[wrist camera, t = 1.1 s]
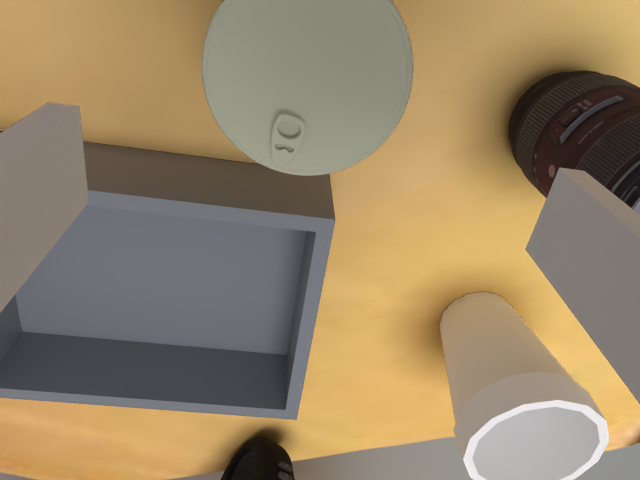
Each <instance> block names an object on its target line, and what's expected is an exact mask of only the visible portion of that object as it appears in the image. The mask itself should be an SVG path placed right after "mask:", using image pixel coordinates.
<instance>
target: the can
mask: <svg viewBox="0 0 640 480" xmlns="http://www.w3.org/2000/svg"><path fill="white" fill-rule="evenodd" d="M202 79H203V85H204V91H205V95H206V98H207V101H208V104H209V107H210V110H211V112H212V114H213V116H214V118H215V120H216V122H217V123H218V125H219V127H220V128H221V130H222V131H223V132H224V134H225V135H226V136H227V138H228V139H229V140H230V141H231V142H232V143H233V144H234V145H235V146H236V147H237V148H238V149H239V150H240V151H242V152H243V153H244V154H245V155H247V156H248V157H250V158H251V159H253V160H254V161H256V162H258V163H260V164H261V165H263V166H266V167H268V168H270V169H273V170H276V171H279V172H283V173H287V174H292V175H301V176H313V175H324V174H329V173H333V172H337V171H340V170H343V169H346V168H348V167H350V166H353V165H355V164H357V163H358V162H360V161H362V160H363V159H365V158H366V157H368V156H369V155H370V154H372V153H373V152H374V151H375V150H377V149H378V148H379V147H380V146H381V145H382V144H383V143H384V142H385V141H386V140H387V138H388V137H389V136H390V135H391V133H392V132H393V130H394V129H395V128H396V126H397V124H398V123H399V121H400V119H401V117H402V115H403V113H404V110H405V108H406V105H407V103H408V99H409V96H410V92H411V87H412V79H413V55H412V47H411V43H410V38H409V35H408V32H407V29H406V26H405V24H404V21H403V19H402V17H401V15H400V13H399V11H398V10H397V8H396V7H395V5H394V4H393V2H392V1H391V0H223V1H222V3H221V4H220V6H219V7H218V9H217V11H216V12H215V14H214V16H213V18H212V20H211V23H210V25H209V28H208V31H207V34H206V38H205V42H204V47H203V55H202Z"/></svg>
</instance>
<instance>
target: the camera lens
mask: <svg viewBox="0 0 640 480" xmlns="http://www.w3.org/2000/svg"><path fill="white" fill-rule="evenodd" d="M509 139H510V143H511V147H512V152H513V156H514V158H515V161H516V162H517V164H518V165H519V167H520V168H521V170H522V171H523V173H524V175H525V176H526V178H527V179H528V180H529V181H530V182H531V183H532V184H533V185H534V186H535V187H536V188H537V189H538V191H539V192H540V193H541V194H543V195H544V196H545V197H546V198H547V196H548V194H549V191H550V189H551V187H552V184H553V182H554V179H555V177H556V175H557V172H558V170H559V168H566V169H574V170H582V171H585V172H587V173H588V174H589V175H590V176H592V177H593V178H594V179H595V180H597V181H598V182H599V183H600V184H602V185H603V186H604V187H605V188H607V189H608V190H609V191H610V192H612V193H613V194H614V195H615V196H617V197H618V198H619V199H620V200H622V201H623V202H624V203H625V204H627V205H628V206H629V207H630V208H632V209H633V210H634V211H635V212H637V213H638V214H639V215H640V88H639V87H637V86H635V85H633V84H631V83H629V82H627V81H625V80H623V79H620V78H618V77H615V76H610V75H604V74H601V73H598V72H593V71H575V72H563V73H558V74H554V75H551V76H549V77H546V78H544V79H542V80H540V81H539V82H537V83H536V84H534V85H533V86H532V87H530V88H529V89H528V90H527V91H526V92H525V93H524V95H523V96H522V97H521V98H520V99H519V101H518V103H517V104H516V106H515V108H514V110H513V112H512V115H511V117H510V122H509Z"/></svg>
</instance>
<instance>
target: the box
mask: <svg viewBox="0 0 640 480" xmlns="http://www.w3.org/2000/svg"><path fill="white" fill-rule="evenodd" d="M2 132H3V131H0V133H2ZM83 148H84V158H85V168H86V179H87V189H88V199H89V202H88V204H87V205H86V206H85V207H84V209H83V210H82V211H81V212H80V214H79V215H78V216H77V217H76V219H75V220H74V221H73V222H72V224H71V225H70V226H69V228H68V229H67V230H66V231H65V233H64V234H63V235H62V236H61V238H60V239H59V240H58V241H57V243H56V244H55V245H54V246H53V248H52V249H51V250H50V251H49V253H48V254H47V255H46V256H45V258H44V259H43V260H42V261H41V263H40V264H39V265H38V266H37V268H36V269H35V270H34V271H33V273H32V274H31V275H30V276H29V278H28V279H27V280H26V281H25V283H24V284H23V285H22V286H21V288H20V289H19V290H18V291H17V293H16V294H15V295H14V296H13V298H12V299H11V300H10V301H9V303H8V304H7V305H6V306H5V308H4V309H3V310H2V311H1V313H0V398H11V399H24V400H38V401H51V402H65V403H78V404H92V405H105V406H118V407H132V408H145V409H159V410H172V411H185V412H199V413H212V414H226V415H239V416H252V417H266V418H279V419H293V420H297V415H298V410H299V405H300V400H301V394H302V389H303V384H304V379H305V374H306V369H307V363H308V358H309V353H310V348H311V343H312V338H313V332H314V327H315V322H316V317H317V312H318V306H319V301H320V296H321V291H322V286H323V281H324V275H325V270H326V265H327V260H328V255H329V250H330V244H331V239H332V234H333V229H334V224H335V214H334V206H333V199H332V191H331V183H330V176H329V174H324V175H313V176H301V175H292V174H287V173H283V172H279V171H276V170H273V169H270V168H268V167H266V166H263V165H260V164H252V163H244V162H237V161H229V160H221V159H213V158H206V157H198V156H190V155H183V154H175V153H167V152H159V151H152V150H144V149H136V148H129V147H121V146H113V145H105V144H98V143H90V142H83Z"/></svg>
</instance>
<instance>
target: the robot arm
mask: <svg viewBox="0 0 640 480" xmlns="http://www.w3.org/2000/svg"><path fill="white" fill-rule="evenodd" d="M88 202H89V199H88V189H87V179H86V168H85V158H84V148H83V138H82V128H81V117H80V107H79V106H73V105H65V104H58V103H50V102H48V103H46V104H45V105H43V106H42V107H40V108H39V109H37V110H35V111H34V112H32V113H31V114H29V115H28V116H26V117H25V118H23V119H22V120H20V121H18V122H17V123H15V124H14V125H12V126H11V127H9V128H8V129H6V130H5V131H3V132H2V133H0V313H1V311H2V310H3V309H4V308H5V306H6V305H7V304H8V303H9V301H10V300H11V299H12V298H13V296H14V295H15V294H16V293H17V291H18V290H19V289H20V288H21V286H22V285H23V284H24V283H25V281H26V280H27V279H28V278H29V276H30V275H31V274H32V273H33V271H34V270H35V269H36V268H37V266H38V265H39V264H40V263H41V261H42V260H43V259H44V258H45V256H46V255H47V254H48V253H49V251H50V250H51V249H52V248H53V246H54V245H55V244H56V243H57V241H58V240H59V239H60V238H61V236H62V235H63V234H64V233H65V231H66V230H67V229H68V228H69V226H70V225H71V224H72V222H73V221H74V220H75V219H76V217H77V216H78V215H79V214H80V212H81V211H82V210H83V209H84V207H85V206H86V205H87V204H88ZM526 251H527V252H528V253H529V255H530V256H531V258H532V259H533V260H534V262H535V263H536V264H537V266H538V267H539V268H540V270H541V271H542V272H543V274H544V275H545V276H546V278H547V279H548V281H549V282H550V283H551V285H552V286H553V287H554V289H555V290H556V291H557V293H558V294H559V295H560V297H561V298H562V299H563V301H564V302H565V304H566V305H567V306H568V308H569V309H570V310H571V312H572V313H573V314H574V316H575V317H576V318H577V320H578V321H579V322H580V324H581V325H582V326H583V328H584V329H585V331H586V332H587V333H588V335H589V336H590V337H591V339H592V340H593V341H594V343H595V344H596V345H597V347H598V348H599V349H600V351H601V352H602V354H603V355H604V356H605V358H606V359H607V360H608V362H609V363H610V364H611V366H612V367H613V368H614V370H615V371H616V372H617V374H618V375H619V377H620V378H621V379H622V381H623V382H624V383H625V385H626V386H627V387H628V389H629V390H630V391H631V393H632V394H633V395H634V397H635V398H636V400H637V401H638V402H639V404H640V215H639V214H638V213H637V212H635V211H634V210H633V209H632V208H630V207H629V206H628V205H627V204H625V203H624V202H623V201H622V200H620V199H619V198H618V197H617V196H615V195H614V194H613V193H612V192H610V191H609V190H608V189H607V188H605V187H604V186H603V185H602V184H600V183H599V182H598V181H597V180H595V179H594V178H593V177H592V176H590V175H589V174H588V173H587V172H585V171H582V170H574V169H566V168H559V170H558V172H557V175H556V177H555V179H554V182H553V184H552V187H551V189H550V191H549V194H548V196H547V199H546V201H545V204H544V206H543V208H542V211H541V213H540V216H539V218H538V220H537V223H536V225H535V228H534V230H533V232H532V235H531V237H530V240H529V242H528V244H527V247H526Z"/></svg>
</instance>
